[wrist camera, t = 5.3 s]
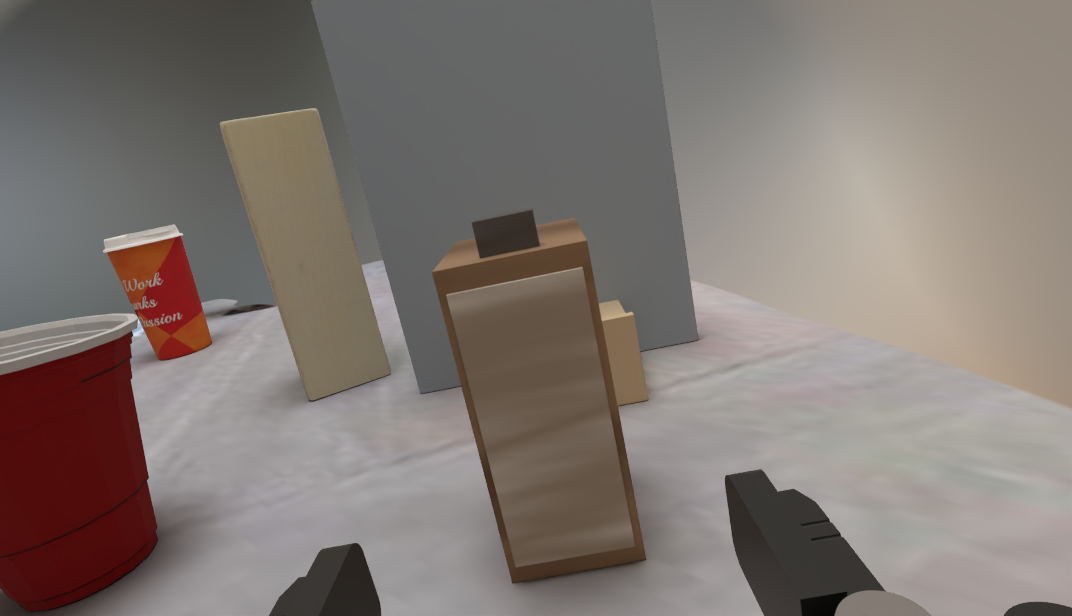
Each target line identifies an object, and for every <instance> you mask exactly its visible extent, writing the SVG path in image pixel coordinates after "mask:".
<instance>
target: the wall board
mask: <svg viewBox="0 0 1072 616" xmlns="http://www.w3.org/2000/svg"><path fill="white" fill-rule="evenodd" d="M311 3H312V7H313V10H314V14H315V18H316V21H317V25H318V28H319V32H320V35H321V39H322V43H323V46H324V50H325V53H326V57H327V60H328V64H329V67H330V71H331V75H332V78H333V82H334V86H335V89H336V93H337V96H338V100H339V103H340V107H341V111H342V114H343V117H344V121H345V125H346V128H347V132H348V136H349V139H350V143H351V146H352V150H353V153H354V157H355V161H356V164H357V168H358V171H359V175H360V179H361V182H362V186H363V189H364V193H365V196H366V200H367V204H368V207H369V210H370V214H371V217H372V222H373V225H374V229H375V232H376V236H377V239H378V243H379V247H380V250H381V254H382V257H383V261H384V264H385V268H386V272H387V275H388V279H389V282H390V286H391V289H392V293H393V297H394V300H395V304H396V307H397V311H398V314H399V318H400V322H401V325H402V329H403V332H404V336H405V340H406V343H407V347H408V350H409V354H410V357H411V361H412V365H413V368H414V372H415V375H416V379H417V382H418V386H419V390H420V393H421V394H422V393H427V392H432V391H437V390H442V389H447V388H453V387H458V386H461V383H460V379H459V375H458V371H457V367H456V363H455V359H454V356H453V352H452V348H451V344H450V340H449V336H448V332H447V329H446V325H445V321H444V317H443V313H442V309H441V305H440V302H439V298H438V294H437V290H436V286H435V282H434V279H433V275H432V271H433V270H434V269H435V268H436V266H437V265H438V264H439V263H440V262H441V260H442V259H443V258H444V257H445V255H446V254H447V253H448V252H449V251H450V249H451V248H452V247H453V246H454V244H455V243H456V242H460V241H464V240H469V239H474V238H475V235H474V231H473V227H472V223H471V222H472V221H473V220H477V219H482V218H486V217H491V216H496V215H501V214H506V213H510V212H515V211H520V210H525V209H529V208H532V209H533V213H534V218H535V223H536V226H537V225H541V224H546V223H551V222H556V221H561V220H566V219H570V218H575V219H576V221H577V223H578V225H579V227H580V228H581V230H582V232H583V234H584V236H585V238H586V239H587V243H588V249H589V254H590V259H591V265H592V270H593V276H594V281H595V286H596V292H597V297H598V303H599V308H600V313H601V319H602V324H603V330H604V335H605V340H606V346H607V351H608V357H609V362H610V368H611V373H612V378H613V384H614V389H615V395H616V400H617V405H618V406H619V405H624V404H630V403H635V402H640V401H646V400H648V396H647V390H646V384H645V378H644V372H643V366H642V360H641V354H640V351H644V350H649V349H654V348H660V347H665V346H670V345H675V344H680V343H685V342H691V341H696V340H698V333H697V326H696V319H695V312H694V304H693V297H692V290H691V283H690V276H689V269H688V262H687V254H686V248H685V240H684V233H683V226H682V219H681V212H680V205H679V197H678V190H677V183H676V176H675V169H674V161H673V154H672V147H671V141H670V133H669V126H668V119H667V111H666V105H665V97H664V90H663V83H662V76H661V69H660V62H659V54H658V47H657V40H656V33H655V26H654V18H653V11H652V4H651V0H315V1H311Z"/></svg>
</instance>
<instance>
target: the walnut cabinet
mask: <svg viewBox="0 0 1072 616" xmlns="http://www.w3.org/2000/svg"><path fill="white" fill-rule="evenodd" d="M471 223H472V227H473V231H474V235H475V238H474V239H469V240H464V241H460V242H456V243H455V244H454V246H453V247H452V248H451V249H450V251H449V252H448V253H447V254H446V255H445V257H444V258H443V259H442V260H441V262H440V263H439V264H438V265H437V266H436V268H435V269H434V270H433V271H432V275H433V279H434V282H435V286H436V290H437V294H438V298H439V302H440V305H441V309H442V313H443V317H444V321H445V325H446V329H447V332H448V336H449V340H450V344H451V348H452V352H453V356H454V359H455V363H456V367H457V371H458V375H459V379H460V383H461V386H462V390H463V394H464V398H465V402H466V406H467V410H468V413H469V417H470V421H471V425H472V429H473V433H474V437H475V440H476V444H477V448H478V452H479V456H480V460H481V464H482V467H483V471H484V475H485V479H486V483H487V487H488V491H489V494H490V498H491V502H492V506H493V510H494V514H495V518H496V521H497V525H498V529H499V533H500V537H501V541H502V544H503V548H504V552H505V556H506V560H507V564H508V568H509V571H510V575H511V579H512V583H515V582H521V581H527V580H533V579H538V578H544V577H550V576H556V575H561V574H567V573H573V572H578V571H584V570H590V569H596V568H601V567H607V566H613V565H619V564H624V563H630V562H636V561H641V560H646V557H645V551H644V546H643V541H642V535H641V530H640V524H639V519H638V514H637V508H636V503H635V497H634V492H633V487H632V481H631V476H630V470H629V465H628V459H627V454H626V449H625V443H624V438H623V432H622V427H621V422H620V416H619V411H618V405H617V400H616V395H615V389H614V384H613V378H612V373H611V368H610V362H609V357H608V351H607V346H606V340H605V335H604V330H603V324H602V319H601V313H600V308H599V303H598V297H597V292H596V286H595V281H594V276H593V270H592V265H591V259H590V254H589V249H588V243H587V239H586V238H585V236H584V234H583V232H582V230H581V228H580V227H579V225H578V223H577V221H576V219H575V218H570V219H566V220H561V221H556V222H551V223H546V224H541V225H537V226H536V223H535V218H534V213H533V209H532V208H529V209H525V210H520V211H515V212H510V213H506V214H501V215H496V216H491V217H486V218H482V219H477V220H473V221H472V222H471Z"/></svg>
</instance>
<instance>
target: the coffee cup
mask: <svg viewBox="0 0 1072 616" xmlns="http://www.w3.org/2000/svg"><path fill="white" fill-rule="evenodd" d="M181 235H183V234H182V233H179V231H178V229H177V227H176V226H175V225H169V226H165V227H160V228H155V229H151V230H146V231H141V232H137V233H132V234H126V235H121V236H118V237H114V238H109V239H104V246H105V250H104V251H103V253H106V252H107V254H108V256H109V258H110V260H111V262H112V264H113V267H114V268H115V271H116V273H117V275H118V277H119V279H120V281H121V283H122V285H123V287H124V289H125V292H126V294H127V296H128V298H129V300H130V302H131V304H132V306H133V308H134V310H135V312H136V314H137V317H138V319H139V321H140V323H141V325H142V327H143V329H144V331H145V333H146V335H147V337H148V339H149V341H150V343H151V345H152V347H153V349H154V351H155V353H156V355H157V357H158V358H159V360H168V359H173V358H178V357H181V356H185V355H188V354H191V353H194V352H197V351H199V350H202V349H204V348H206V347H208V346H209V345H211V344H212V341H211V337H210V333H209V329H208V326H207V322H206V319H205V316H204V312H203V309H202V305H201V302H200V299H199V296H198V292H197V289H196V285H195V282H194V279H193V275H192V272H191V269H190V265H189V262H188V259H187V256H186V252H185V249H184V246H183V242H182V239H181Z"/></svg>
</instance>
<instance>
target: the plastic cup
mask: <svg viewBox="0 0 1072 616" xmlns="http://www.w3.org/2000/svg"><path fill="white" fill-rule="evenodd" d="M137 323H138V319H137V317H136V315H135V314H107V315H98V316H89V317H81V318H74V319H68V320H62V321H56V322H50V323H43V324H38V325H32V326H27V327H23V328H17V329H12V330H7V331H3V332H0V588H1V589H2V590H3V592H4V593H5V594H6V595H7V596H8V597H9V598H11V599H13V600H15V601H16V602H17V603H18V604H19V605H20V606H22V607H23V608H25V609H27V610H29V611H39V610H50V609H54V608H57V607H60V606H63V605H66V604H69V603H72V602H75V601H78V600H80V599H82V598H84V597H86V596H88V595H90V594H92V593H94V592H96V591H98V590H100V589H102V588H104V587H106V586H108V585H110V584H111V583H113V582H114V581H116V580H117V579H119V578H120V577H122V576H123V575H125V574H126V573H128V572H129V571H131V570H132V569H133V568H134V567H136V566H137V565H138V564H139V563H140V562H141V561H142V560H143V559H144V558H145V557H146V556H148V555H149V554H150V552H151V551H152V549H153V547H154V545H155V544H156V542H157V536H156V529H157V524H156V520H155V515H154V511H153V506H152V501H151V497H150V492H149V488H148V483H147V480H148V478H149V476H148V471H147V466H146V460H145V455H144V450H143V444H142V439H141V434H140V428H139V423H138V418H137V412H136V407H135V401H134V396H133V391H132V385H131V379H132V372H131V365H130V358H132V355H131V347H130V344H131V343H132V339H131V337H132V336H133V334H132V330H134V329H136V328H137Z"/></svg>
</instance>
